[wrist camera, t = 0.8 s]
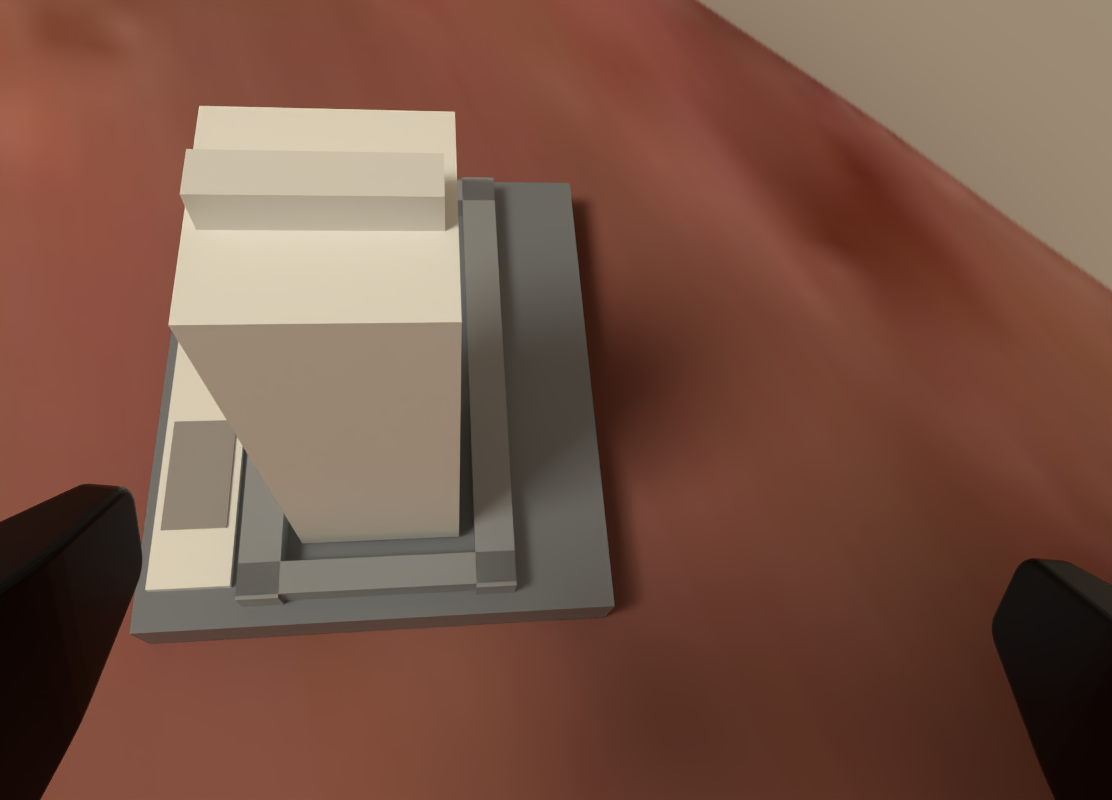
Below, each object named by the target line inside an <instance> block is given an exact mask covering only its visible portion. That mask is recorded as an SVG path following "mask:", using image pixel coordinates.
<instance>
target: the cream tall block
mask: <svg viewBox="0 0 1112 800" xmlns="http://www.w3.org/2000/svg"><path fill="white" fill-rule="evenodd" d="M180 196H181V198H182V200H183V202H184V205H185V211H184V218H183V225H182V232H181V239H180V246H179V253H178V261H177V268H176V275H175V282H174V289H173V296H172V303H171V310H170V317H169V324H168V325H169V327H170V329H171V330H172V332H173V334H174V335H175V337H176V338H177V340H178V342H179V343H180V345H181V347H182V348H183V350H184V351H185V353H186V355H187V356H188V358H189V360H190V361H191V363H192V364H193V366H194V368H195V369H196V371H197V373H198V374H199V376H200V378H201V379H202V381H203V382H204V384H205V386H206V387H207V389H208V391H209V392H210V394H211V395H212V397H213V399H214V400H215V402H216V404H217V405H218V407H219V408H220V410H221V412H222V413H223V415H224V417H225V418H226V420H227V421H228V423H229V425H230V426H231V428H232V430H233V431H234V433H235V435H236V436H237V438H238V439H239V441H240V443H241V444H242V446H243V448H244V449H245V451H246V452H247V454H248V456H249V457H250V459H251V461H252V462H253V464H254V465H255V467H256V469H257V470H258V472H259V474H260V475H261V477H262V478H263V480H264V482H265V483H266V485H267V487H268V488H269V490H270V492H271V493H272V495H273V496H274V498H275V500H276V501H277V503H278V505H279V506H280V508H281V509H282V511H283V513H284V514H285V516H286V518H287V519H288V521H289V522H290V524H291V526H292V527H293V529H294V531H295V532H296V534H297V536H298V537H299V539H300V540H301V542H302V543H324V542H346V541H369V540H391V539H414V538H436V537H459V492H460V415H461V338H462V316H461V286H460V256H459V226H458V196H457V166H456V136H455V112H439V111H396V110H353V109H310V108H267V107H224V106H199V112H198V119H197V126H196V133H195V140H194V147H193V149H186V154H185V161H184V168H183V175H182V182H181V189H180Z"/></svg>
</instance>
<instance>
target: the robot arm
mask: <svg viewBox="0 0 1112 800" xmlns="http://www.w3.org/2000/svg"><path fill="white" fill-rule="evenodd" d="M142 560H143V557H142V548H141V541H140V534H139V527H138V520H137V513H136V507H135V501H134V498H133V495H132V493H131V492H130V491H129V490H128V489H127V488H125V487H122V486H110V485H98V484H82V485H79V486H77V487H75V488H72V489H70V490H68V491H66V492H64V493H62V494H60V495H57V496H55V497H53V498H51V499H49V500H47V501H44V502H42V503H40V504H38V505H36V506H34V507H31V508H29V509H27V510H25V511H23V512H21V513H18V514H16V515H14V516H12V517H10V518H8V519H5V520H3V521H1V522H0V800H40V799H41V798H42V796H43V794H44V792H45V790H46V788H47V786H48V784H49V783H50V781H51V779H52V777H53V775H54V773H55V771H56V770H57V768H58V766H59V764H60V762H61V760H62V758H63V757H64V755H65V753H66V751H67V749H68V747H69V745H70V743H71V741H72V739H73V737H74V735H75V734H76V732H77V730H78V728H79V726H80V724H81V722H82V719H83V717H84V715H85V712H86V710H87V708H88V705H89V703H90V701H91V699H92V696H93V694H94V691H95V689H96V686H97V684H98V681H99V679H100V676H101V674H102V671H103V669H104V666H105V664H106V661H107V659H108V656H109V654H110V651H111V649H112V646H113V644H114V641H115V639H116V636H117V634H118V631H119V629H120V626H121V624H122V621H123V619H124V616H125V614H126V611H127V609H128V606H129V604H130V601H131V599H132V596H133V594H134V591H135V589H136V586H137V584H138V581H139V578H140V575H141V570H142ZM992 633H993V640H994V643H995V646H996V649H997V651H998V654H999V657H1000V659H1001V662H1002V665H1003V668H1004V670H1005V673H1006V676H1007V678H1008V681H1009V684H1010V686H1011V689H1012V692H1013V695H1014V697H1015V700H1016V703H1017V705H1018V708H1019V711H1020V713H1021V716H1022V719H1023V722H1024V724H1025V727H1026V730H1027V732H1028V735H1029V738H1030V740H1031V743H1032V746H1033V749H1034V751H1035V754H1036V756H1037V759H1038V761H1039V764H1040V766H1041V769H1042V771H1043V774H1044V776H1045V779H1046V781H1047V783H1048V785H1049V788H1050V790H1051V792H1052V794H1053V796H1054V799H1055V800H1112V585H1110V584H1108V583H1106V582H1105V581H1103V580H1101V579H1099V578H1097V577H1095V576H1094V575H1092V574H1090V573H1088V572H1086V571H1085V570H1083V569H1081V568H1079V567H1077V566H1076V565H1074V564H1072V563H1069V562H1066V561H1062V560H1049V559H1036V558H1031V559H1028V560H1025V561H1023V562H1022V563H1021V564H1020V565H1019V566H1018V567H1017V569H1016V571H1015V573H1014V575H1013V577H1012V579H1011V581H1010V583H1009V585H1008V588H1007V590H1006V592H1005V594H1004V596H1003V598H1002V600H1001V602H1000V604H999V606H998V609H997V611H996V613H995V615H994V618H993V623H992Z"/></svg>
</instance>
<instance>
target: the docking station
mask: <svg viewBox="0 0 1112 800" xmlns="http://www.w3.org/2000/svg"><path fill="white" fill-rule="evenodd" d="M457 196H458V226H459V256H460V286H461V316H462V338H461V415H460V492H459V537H436V538H414V539H391V540H369V541H346V542H324V543H302V542H301V540H300V539H299V537H298V536H297V534H296V532H295V531H294V529H293V527H292V526H291V524H290V522H289V521H288V519H287V518H286V516H285V514H284V513H283V511H282V509H281V508H280V506H279V505H278V503H277V501H276V500H275V498H274V496H273V495H272V493H271V492H270V490H269V488H268V487H267V485H266V483H265V482H264V480H263V478H262V477H261V475H260V474H259V472H258V470H257V469H256V467H255V465H254V464H253V462H252V461H251V459H250V457H249V456H248V454H247V452H246V451H245V449H244V448H243V446H242V444H241V443H240V441H239V439H238V438H237V436H236V435H235V433H234V431H233V430H232V428H231V426H230V425H229V423H228V421H227V420H226V418H225V417H224V415H223V413H222V412H221V410H220V408H219V407H218V405H217V404H216V402H215V400H214V399H213V397H212V395H211V394H210V392H209V391H208V389H207V387H206V386H205V384H204V382H203V381H202V379H201V378H200V376H199V374H198V373H197V371H196V369H195V368H194V366H193V364H192V363H191V361H190V360H189V358H188V356H187V355H186V353H185V351H184V350H183V348H182V347H181V345H180V343H179V342H178V340H177V338H176V337H175V335H174V334H173V332H172V330H171V337H170V344H169V352H168V359H167V366H166V373H165V380H164V388H163V395H162V402H161V409H160V416H159V424H158V431H157V438H156V445H155V452H154V460H153V467H152V474H151V481H150V489H149V496H148V503H147V510H146V517H145V525H144V532H143V539H142V546H141V548H142V557H143V560H142V570H141V575H140V578H139V581H138V584H137V586H136V589H135V597H134V604H133V611H132V618H131V625H130V633H129V634H131V635H133V636H135V637H137V638H139V639H141V640H143V641H145V642H147V643H149V644H156V643H173V642H190V641H207V640H224V639H241V638H258V637H275V636H292V635H309V634H326V633H343V632H360V631H377V630H394V629H411V628H428V627H445V626H462V625H479V624H496V623H513V622H530V621H547V620H564V619H581V618H598V617H606V616H607V615H608V613H609V612H610V611H611V610H612V609H613V607H614V606H615V604H614V595H613V586H612V576H611V567H610V557H609V548H608V539H607V529H606V520H605V510H604V501H603V492H602V482H601V473H600V463H599V454H598V445H597V435H596V426H595V416H594V407H593V398H592V388H591V379H590V369H589V360H588V351H587V341H586V332H585V322H584V313H583V304H582V294H581V285H580V275H579V266H578V257H577V247H576V238H575V228H574V219H573V210H572V200H571V191H570V183H527V182H494V180H493V178H473V177H462V180H457Z"/></svg>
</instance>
